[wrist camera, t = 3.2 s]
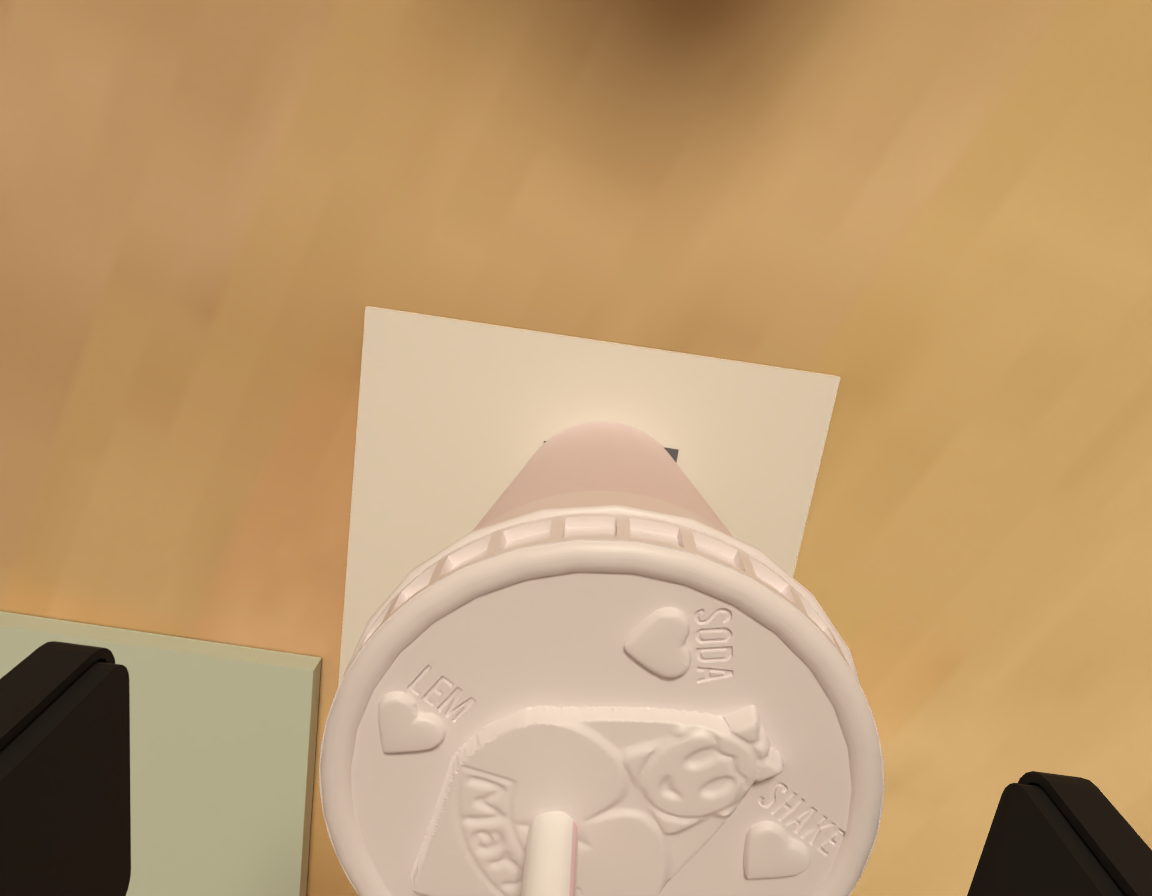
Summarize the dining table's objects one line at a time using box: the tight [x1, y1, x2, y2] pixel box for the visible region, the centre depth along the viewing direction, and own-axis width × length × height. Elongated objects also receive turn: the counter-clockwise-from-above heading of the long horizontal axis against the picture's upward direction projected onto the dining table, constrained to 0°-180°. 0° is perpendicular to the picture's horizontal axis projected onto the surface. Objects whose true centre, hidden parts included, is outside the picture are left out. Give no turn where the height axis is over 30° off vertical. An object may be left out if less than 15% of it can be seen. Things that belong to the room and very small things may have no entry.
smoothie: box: [319, 422, 884, 896], centre depth 12 cm, size 6×6×14 cm
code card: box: [338, 306, 840, 688], centre depth 19 cm, size 10×10×1 cm
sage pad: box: [0, 611, 322, 896], centre depth 21 cm, size 10×10×1 cm
